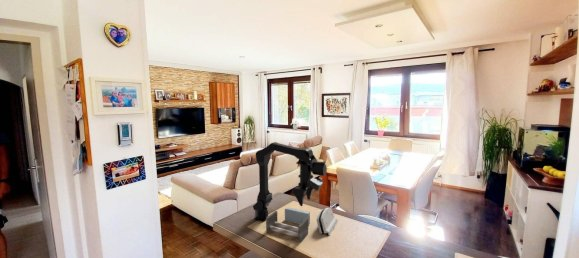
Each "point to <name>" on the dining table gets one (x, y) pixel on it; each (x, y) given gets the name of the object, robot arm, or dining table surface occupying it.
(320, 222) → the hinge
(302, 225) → the grey open box
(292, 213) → the door panel
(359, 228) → the dining table surface
